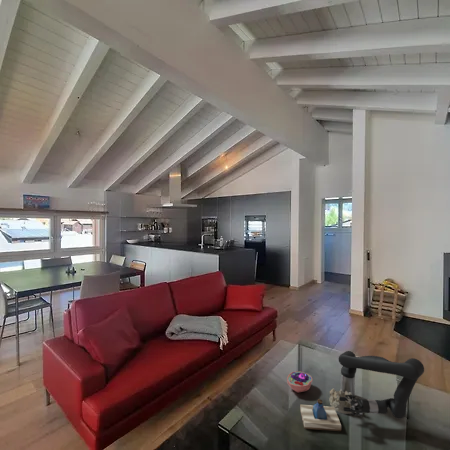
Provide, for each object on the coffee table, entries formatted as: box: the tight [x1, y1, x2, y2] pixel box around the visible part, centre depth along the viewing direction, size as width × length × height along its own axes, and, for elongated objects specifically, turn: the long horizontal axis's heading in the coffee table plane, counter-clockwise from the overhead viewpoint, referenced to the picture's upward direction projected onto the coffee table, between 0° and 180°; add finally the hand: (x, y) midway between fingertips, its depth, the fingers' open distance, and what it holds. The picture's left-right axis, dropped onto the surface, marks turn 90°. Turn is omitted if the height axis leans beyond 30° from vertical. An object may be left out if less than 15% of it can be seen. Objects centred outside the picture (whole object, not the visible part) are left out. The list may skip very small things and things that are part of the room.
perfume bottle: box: [313, 398, 326, 420], centre depth 170 cm, size 6×6×12 cm
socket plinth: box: [299, 404, 342, 432], centre depth 171 cm, size 15×22×4 cm
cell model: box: [286, 370, 313, 393], centre depth 200 cm, size 17×20×11 cm
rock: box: [328, 387, 356, 415], centre depth 183 cm, size 16×16×15 cm
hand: (341, 403), depth 168 cm, fingers open, 8 cm apart
